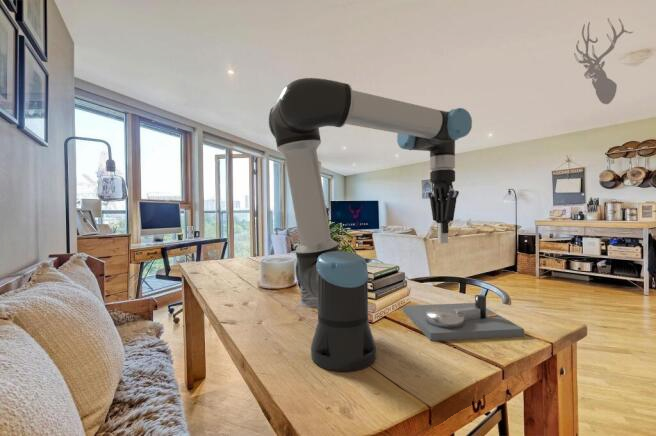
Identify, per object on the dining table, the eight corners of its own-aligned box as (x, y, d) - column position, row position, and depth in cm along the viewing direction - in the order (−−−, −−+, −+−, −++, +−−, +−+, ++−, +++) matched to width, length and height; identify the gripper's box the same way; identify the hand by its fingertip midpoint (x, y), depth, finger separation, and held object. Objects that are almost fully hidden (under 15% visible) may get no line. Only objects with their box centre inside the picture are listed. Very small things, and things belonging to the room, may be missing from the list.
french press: (299, 298, 115) (298, 233, 114) (330, 298, 115) (329, 233, 114) (296, 307, 105) (294, 235, 105) (329, 307, 105) (328, 235, 104)
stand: (430, 340, 77) (430, 332, 77) (403, 311, 99) (403, 304, 99) (524, 336, 79) (524, 327, 79) (476, 308, 101) (476, 301, 101)
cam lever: (440, 330, 78) (440, 307, 78) (419, 317, 88) (418, 296, 88) (498, 322, 83) (498, 300, 83) (472, 310, 93) (472, 291, 93)
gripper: (466, 167, 92) (466, 244, 93) (440, 172, 105) (440, 240, 106) (444, 167, 90) (445, 245, 91) (421, 172, 103) (421, 241, 104)
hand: (442, 243), depth 98 cm, fingers closed
